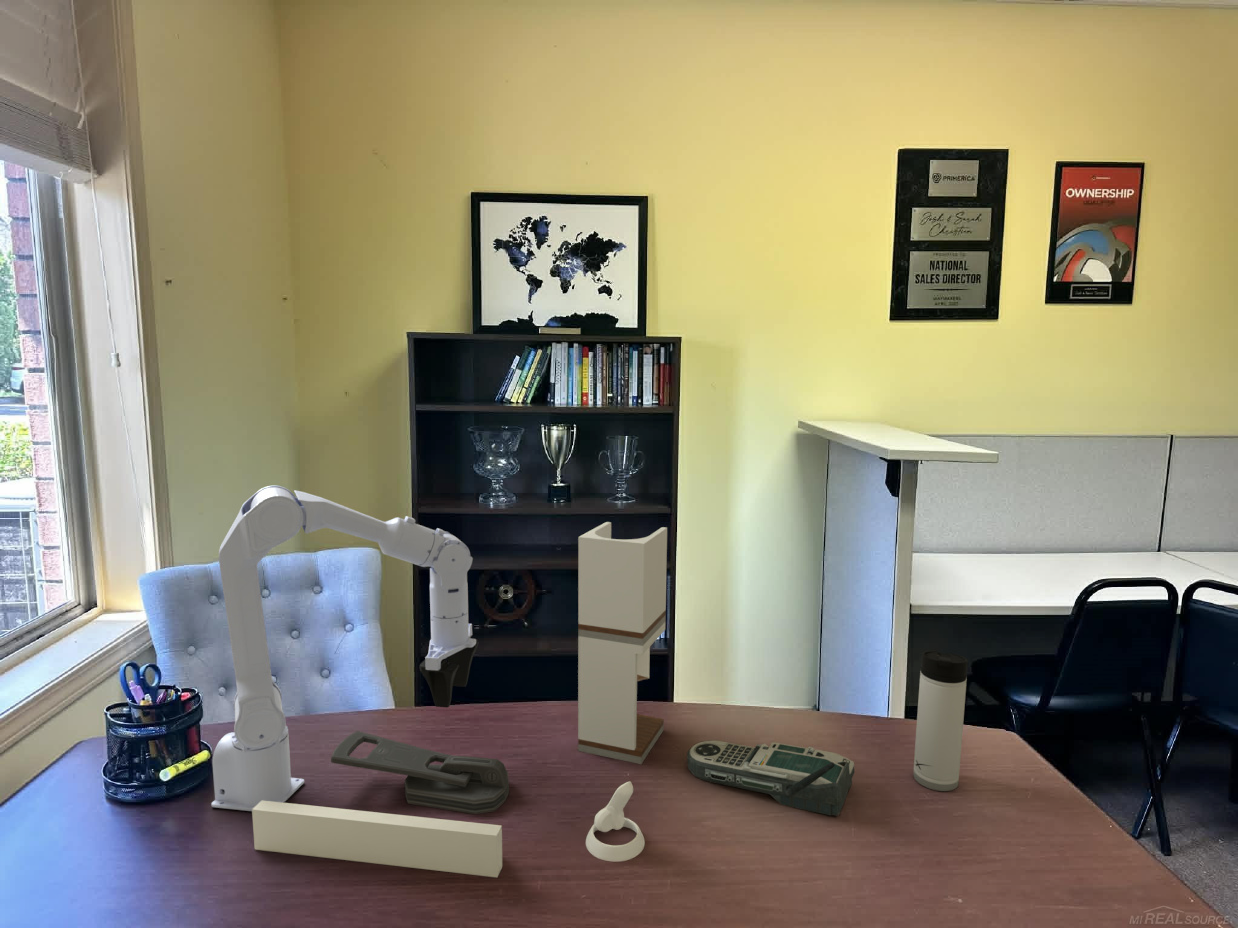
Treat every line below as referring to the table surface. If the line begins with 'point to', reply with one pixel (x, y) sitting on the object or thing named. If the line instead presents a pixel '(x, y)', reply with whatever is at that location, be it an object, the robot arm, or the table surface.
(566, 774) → the table surface
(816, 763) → the communication device
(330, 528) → the robot arm
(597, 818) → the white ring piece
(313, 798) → the table surface
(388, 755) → the zipper pull
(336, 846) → the cream rectangular bar
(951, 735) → the travel mug
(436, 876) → the table surface
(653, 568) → the white square tower
